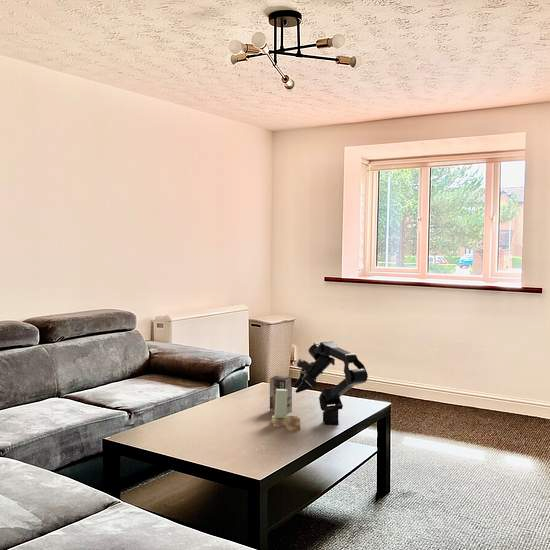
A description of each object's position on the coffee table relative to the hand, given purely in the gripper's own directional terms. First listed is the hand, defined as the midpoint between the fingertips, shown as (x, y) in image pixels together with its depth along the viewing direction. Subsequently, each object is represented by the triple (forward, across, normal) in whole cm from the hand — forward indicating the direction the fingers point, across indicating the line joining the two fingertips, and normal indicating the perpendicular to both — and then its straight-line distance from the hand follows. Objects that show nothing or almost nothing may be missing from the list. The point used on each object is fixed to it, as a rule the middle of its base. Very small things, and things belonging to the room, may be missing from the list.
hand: (295, 389), depth 270 cm
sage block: (+13, +6, +2) cm, 14 cm away
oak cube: (+11, +14, +8) cm, 19 cm away
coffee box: (+14, -13, +6) cm, 20 cm away
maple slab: (+15, +7, +5) cm, 17 cm away
